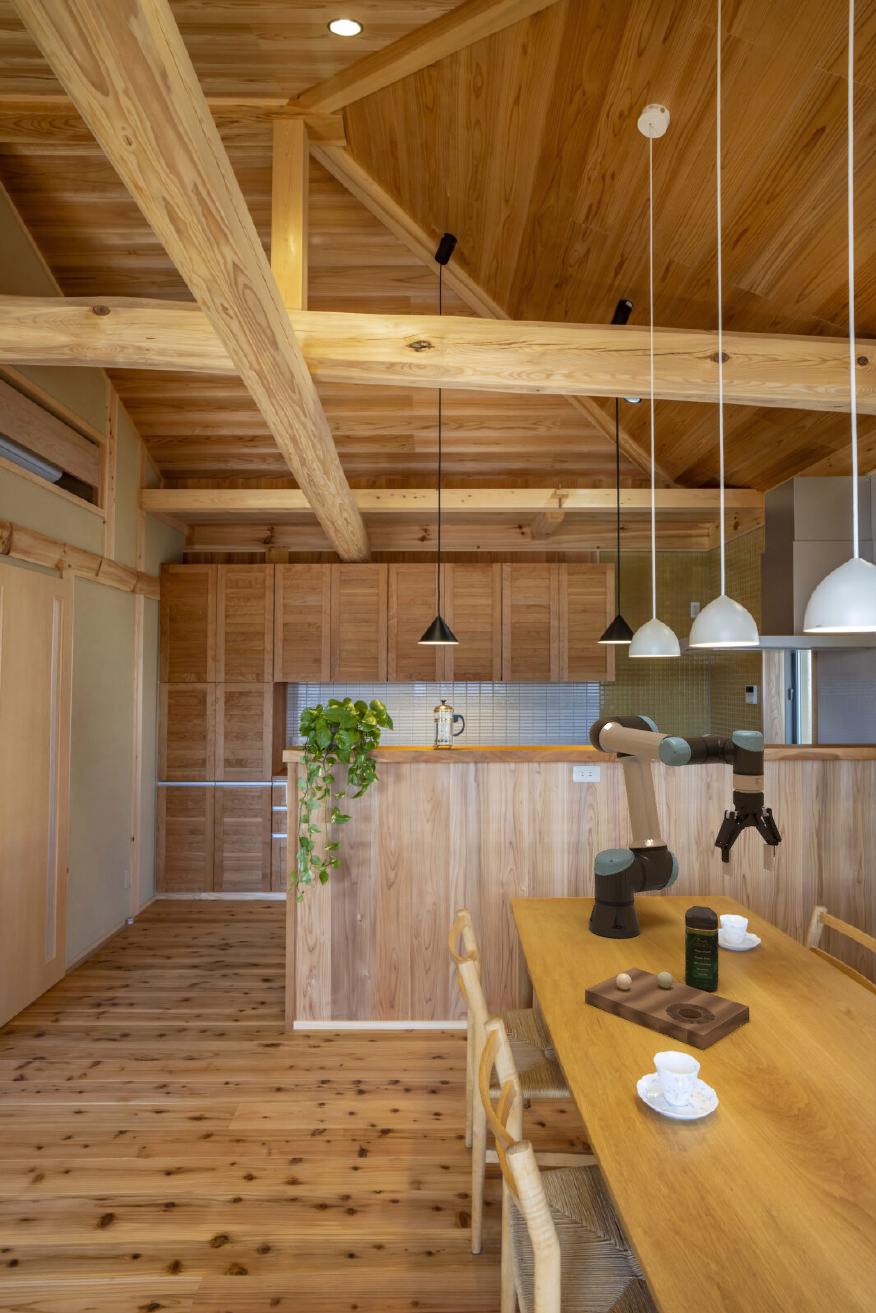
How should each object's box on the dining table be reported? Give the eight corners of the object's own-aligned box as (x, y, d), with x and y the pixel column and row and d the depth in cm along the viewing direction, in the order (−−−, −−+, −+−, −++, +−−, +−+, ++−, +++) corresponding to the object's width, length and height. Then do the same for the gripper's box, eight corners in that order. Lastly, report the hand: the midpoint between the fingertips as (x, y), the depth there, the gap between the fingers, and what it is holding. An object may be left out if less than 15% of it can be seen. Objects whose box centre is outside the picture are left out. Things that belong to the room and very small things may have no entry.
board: (585, 1002, 176) (584, 989, 176) (634, 979, 190) (633, 967, 190) (703, 1049, 154) (703, 1035, 154) (749, 1020, 167) (749, 1006, 167)
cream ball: (613, 988, 177) (612, 973, 177) (622, 984, 179) (621, 969, 179) (626, 993, 174) (625, 978, 174) (634, 989, 176) (634, 973, 177)
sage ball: (654, 987, 178) (654, 971, 178) (662, 983, 180) (662, 968, 180) (667, 992, 175) (667, 976, 175) (676, 987, 177) (676, 972, 177)
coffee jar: (719, 994, 181) (718, 916, 181) (684, 989, 183) (684, 913, 184) (718, 978, 190) (717, 905, 190) (685, 974, 192) (684, 902, 193)
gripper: (721, 795, 187) (721, 881, 187) (796, 789, 197) (796, 871, 196) (700, 791, 194) (700, 873, 194) (773, 785, 203) (773, 864, 203)
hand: (748, 872), depth 195 cm, fingers open, 13 cm apart
